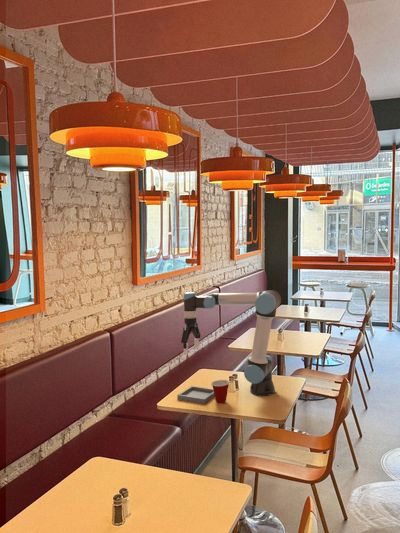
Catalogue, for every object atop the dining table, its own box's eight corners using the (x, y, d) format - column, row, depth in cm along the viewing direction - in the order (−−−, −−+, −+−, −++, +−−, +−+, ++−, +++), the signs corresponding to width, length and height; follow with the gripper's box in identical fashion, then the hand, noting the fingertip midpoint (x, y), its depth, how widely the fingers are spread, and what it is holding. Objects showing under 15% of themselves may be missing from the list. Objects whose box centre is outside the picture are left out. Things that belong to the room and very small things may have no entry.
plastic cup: (213, 398, 294) (212, 378, 293) (231, 399, 292) (230, 379, 291) (209, 404, 284) (209, 384, 283) (228, 405, 282) (227, 385, 281)
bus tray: (217, 394, 301) (217, 389, 301) (204, 404, 285) (204, 399, 285) (191, 390, 309) (191, 385, 309) (177, 399, 293) (177, 394, 293)
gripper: (194, 313, 317) (195, 345, 319) (174, 320, 295) (175, 355, 297) (205, 314, 314) (206, 346, 315) (185, 321, 292) (186, 356, 293)
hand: (191, 351), depth 306 cm, fingers open, 13 cm apart
